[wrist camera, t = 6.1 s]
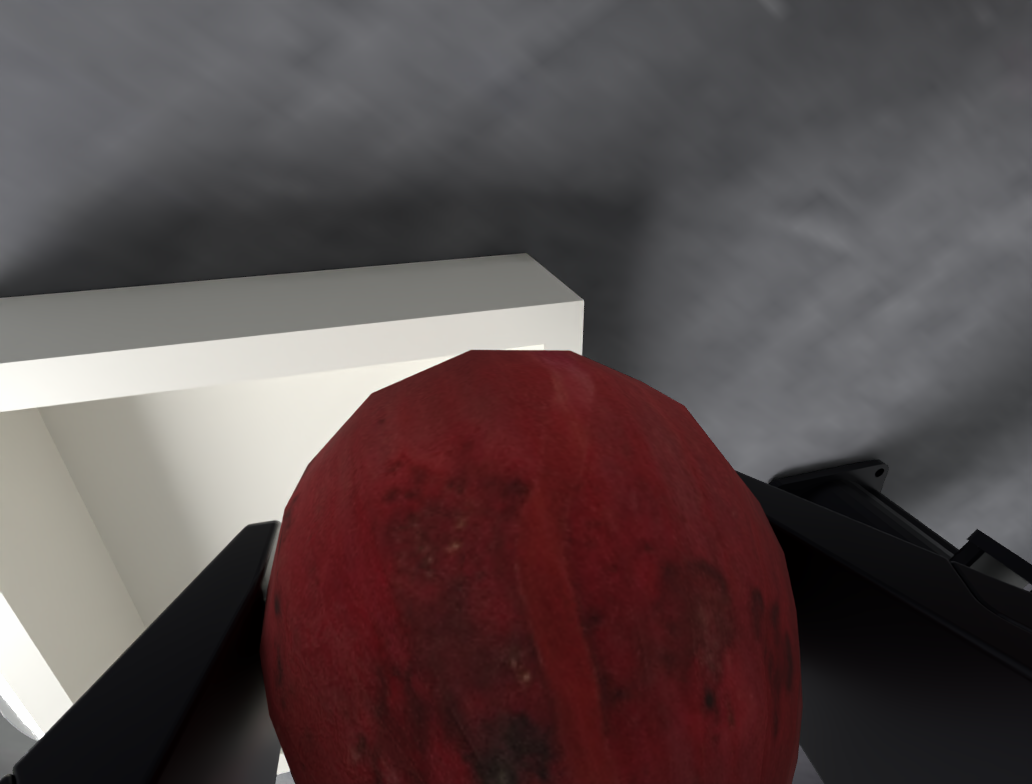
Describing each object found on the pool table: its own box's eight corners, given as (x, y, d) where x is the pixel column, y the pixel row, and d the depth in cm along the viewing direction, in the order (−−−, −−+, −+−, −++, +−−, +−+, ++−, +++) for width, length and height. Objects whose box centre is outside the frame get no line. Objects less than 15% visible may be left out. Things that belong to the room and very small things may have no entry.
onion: (221, 373, 8) (-476, 1728, 1) (564, 215, 8) (1467, 674, 2) (398, 601, 11) (464, 1387, 4) (648, 479, 11) (1090, 1038, 5)
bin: (526, 253, 17) (584, 300, 13) (530, 590, 24) (568, 693, 20) (-36, 301, 14) (-207, 385, 10) (156, 676, 21) (106, 821, 17)
